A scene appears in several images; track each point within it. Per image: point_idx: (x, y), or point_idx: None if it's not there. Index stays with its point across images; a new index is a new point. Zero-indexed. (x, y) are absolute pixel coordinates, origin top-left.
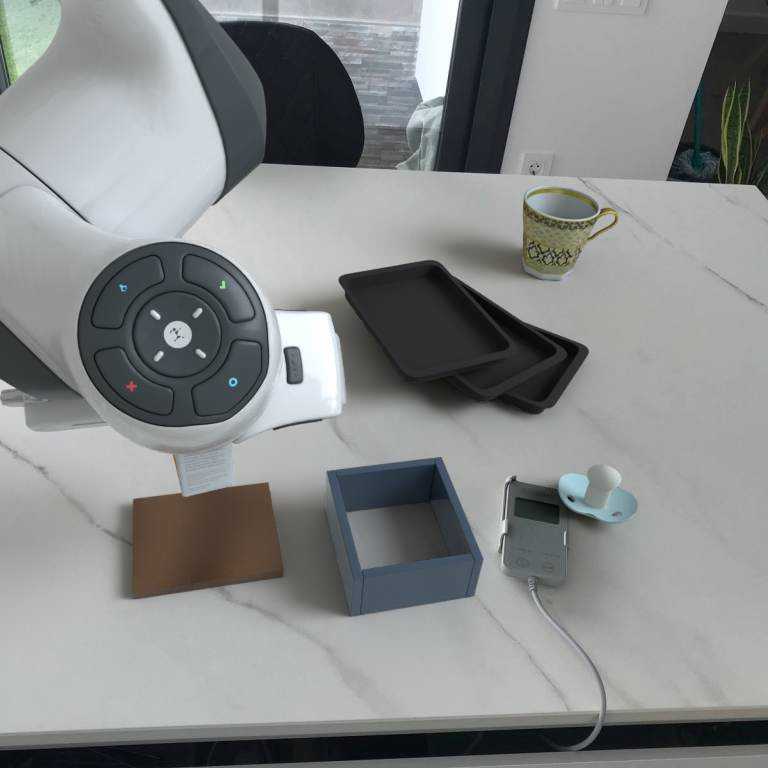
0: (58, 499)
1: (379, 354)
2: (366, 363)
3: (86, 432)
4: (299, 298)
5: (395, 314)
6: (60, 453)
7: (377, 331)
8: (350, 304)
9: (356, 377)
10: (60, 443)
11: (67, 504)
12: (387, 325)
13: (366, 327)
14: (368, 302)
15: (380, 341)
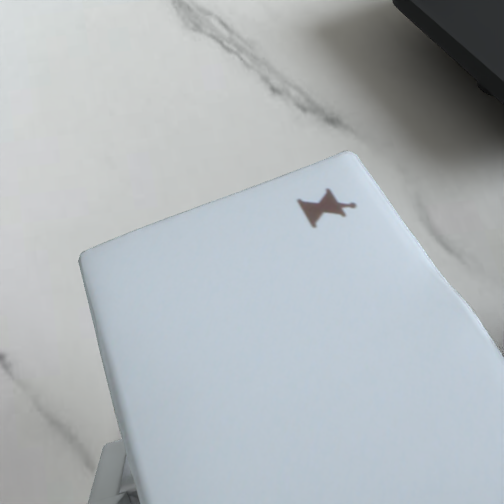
0: (31, 420)
1: (453, 90)
2: (440, 107)
3: (59, 279)
4: (314, 17)
5: (480, 22)
6: (25, 324)
7: (480, 56)
8: (407, 15)
9: (433, 133)
10: (23, 304)
11: (46, 429)
12: (476, 42)
13: (445, 50)
14: (432, 8)
15: (483, 72)
